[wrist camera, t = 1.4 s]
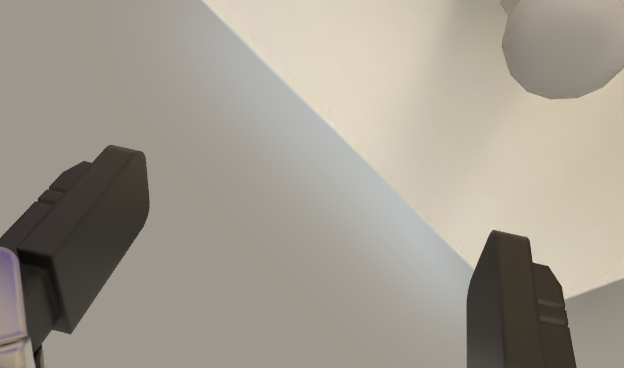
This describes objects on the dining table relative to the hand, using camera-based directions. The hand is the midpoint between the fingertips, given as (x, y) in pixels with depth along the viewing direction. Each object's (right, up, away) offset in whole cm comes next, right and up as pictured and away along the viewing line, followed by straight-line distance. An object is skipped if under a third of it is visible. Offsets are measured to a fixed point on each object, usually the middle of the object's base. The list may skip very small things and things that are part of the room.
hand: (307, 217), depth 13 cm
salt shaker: (+12, +13, +16) cm, 24 cm away
